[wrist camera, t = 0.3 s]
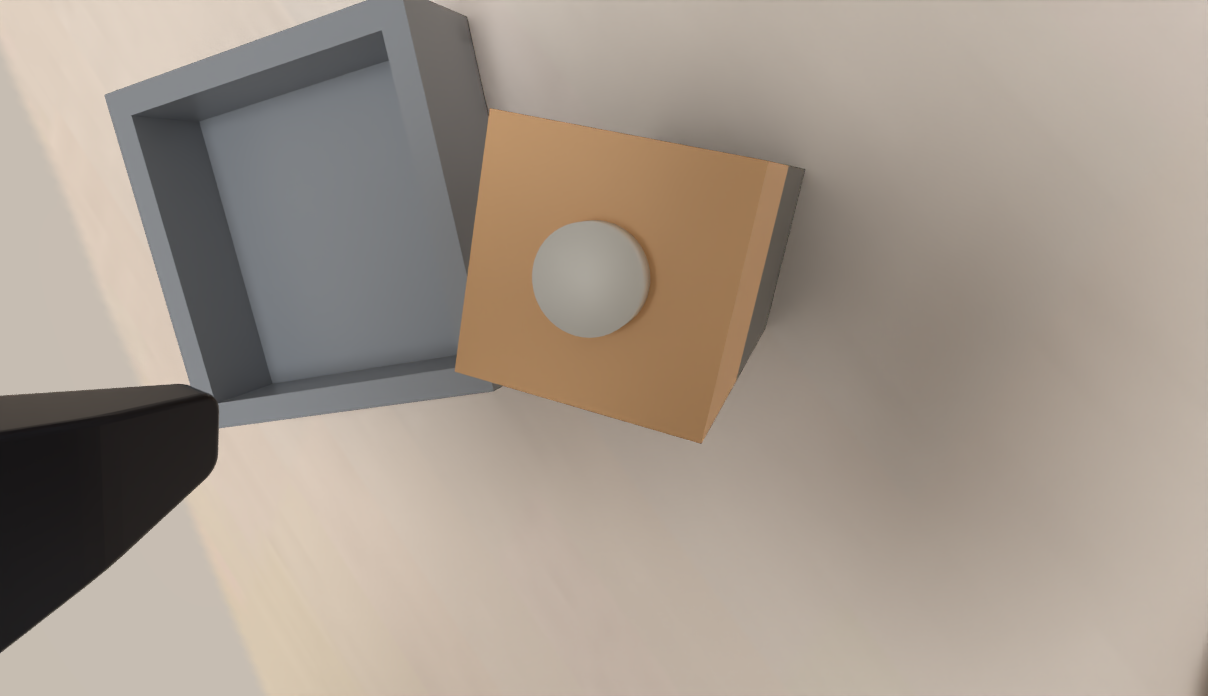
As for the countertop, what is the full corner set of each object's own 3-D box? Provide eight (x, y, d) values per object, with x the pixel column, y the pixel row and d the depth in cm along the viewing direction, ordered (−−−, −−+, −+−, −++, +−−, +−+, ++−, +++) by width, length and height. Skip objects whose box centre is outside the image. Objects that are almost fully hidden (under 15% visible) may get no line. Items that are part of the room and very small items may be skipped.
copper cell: (765, 328, 21) (695, 454, 12) (617, 291, 22) (440, 378, 13) (805, 169, 20) (764, 160, 10) (646, 139, 21) (475, 105, 11)
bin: (542, 362, 24) (493, 391, 20) (280, 400, 27) (204, 430, 24) (466, 16, 22) (400, -12, 19) (199, 105, 26) (104, 94, 22)
